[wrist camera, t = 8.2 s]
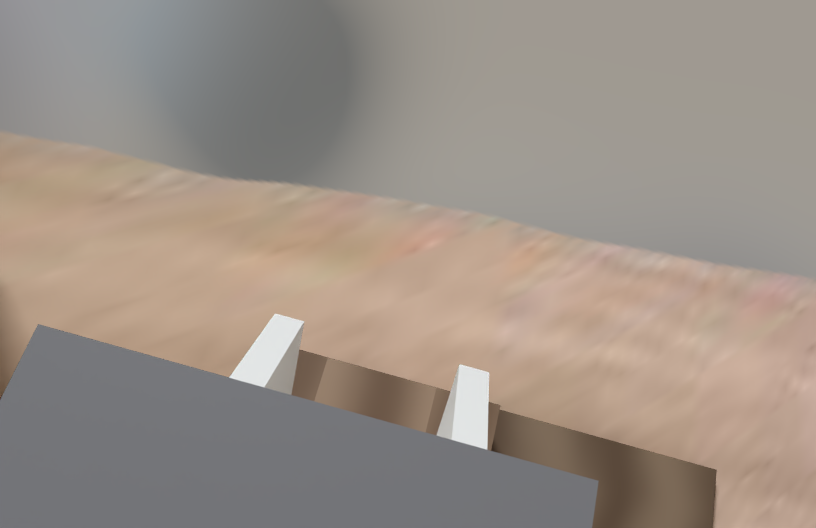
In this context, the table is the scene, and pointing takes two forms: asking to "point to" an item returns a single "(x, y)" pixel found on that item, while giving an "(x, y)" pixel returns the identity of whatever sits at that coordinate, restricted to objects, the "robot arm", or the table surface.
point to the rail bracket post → (239, 455)
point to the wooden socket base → (529, 446)
